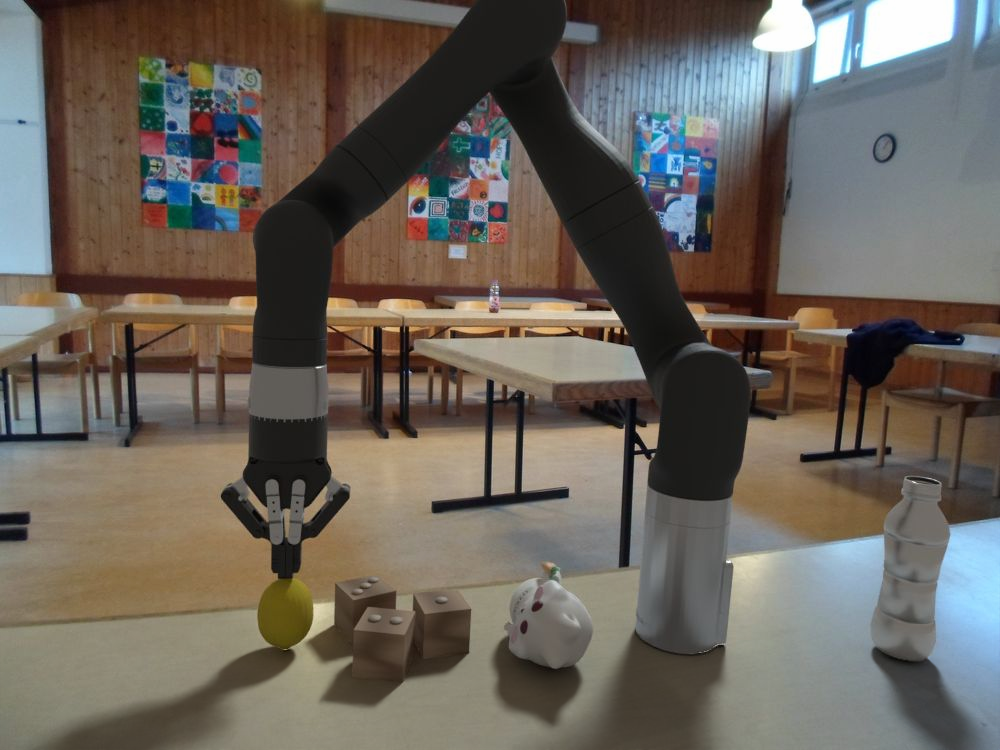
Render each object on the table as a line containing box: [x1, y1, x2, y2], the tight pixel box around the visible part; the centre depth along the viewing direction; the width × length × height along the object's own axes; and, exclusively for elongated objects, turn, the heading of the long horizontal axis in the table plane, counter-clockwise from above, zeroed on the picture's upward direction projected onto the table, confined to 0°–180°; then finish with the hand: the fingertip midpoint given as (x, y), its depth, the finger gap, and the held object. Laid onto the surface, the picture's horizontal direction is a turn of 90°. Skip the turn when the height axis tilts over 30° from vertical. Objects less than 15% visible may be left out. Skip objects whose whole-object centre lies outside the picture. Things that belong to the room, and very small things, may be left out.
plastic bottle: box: [869, 475, 951, 662], centre depth 80 cm, size 6×7×20 cm
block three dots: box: [333, 573, 397, 645], centre depth 80 cm, size 5×5×5 cm
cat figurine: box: [503, 561, 594, 670], centre depth 76 cm, size 10×8×15 cm
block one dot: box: [412, 588, 472, 660], centre depth 77 cm, size 5×5×5 cm
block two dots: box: [351, 607, 416, 684], centre depth 72 cm, size 5×5×5 cm
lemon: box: [256, 577, 314, 650], centre depth 74 cm, size 6×6×8 cm
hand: (285, 575), depth 74 cm, fingers closed
